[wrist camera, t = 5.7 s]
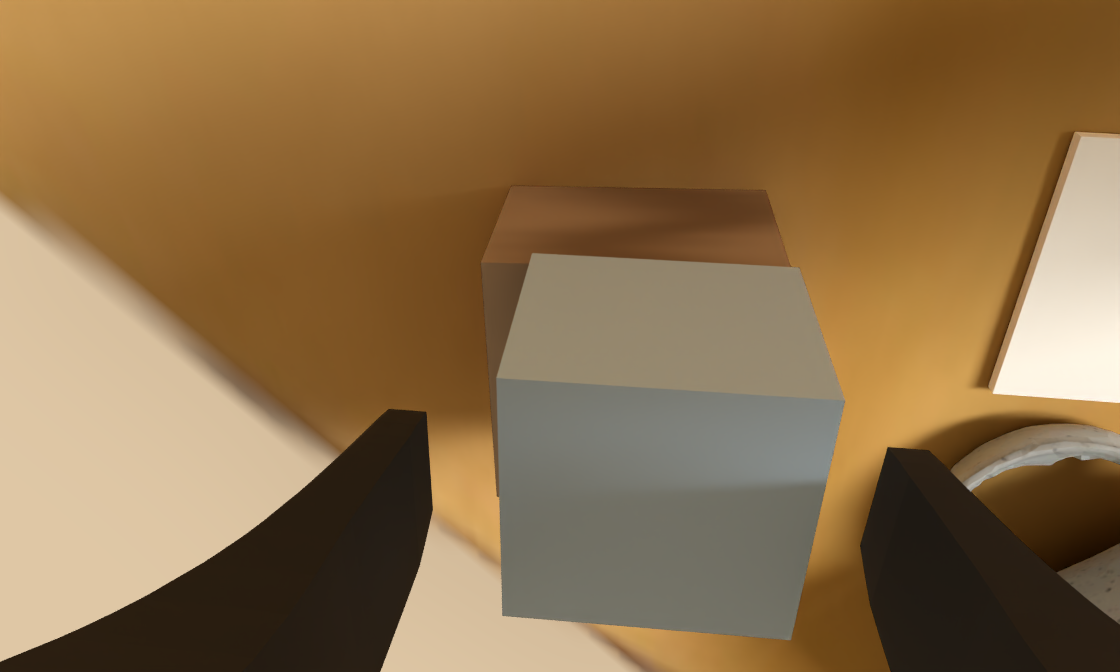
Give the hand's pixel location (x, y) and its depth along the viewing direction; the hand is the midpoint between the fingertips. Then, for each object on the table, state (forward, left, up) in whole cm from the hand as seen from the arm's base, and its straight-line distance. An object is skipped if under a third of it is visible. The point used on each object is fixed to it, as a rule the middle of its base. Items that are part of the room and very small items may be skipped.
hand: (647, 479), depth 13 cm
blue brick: (0, 0, -3) cm, 3 cm away
